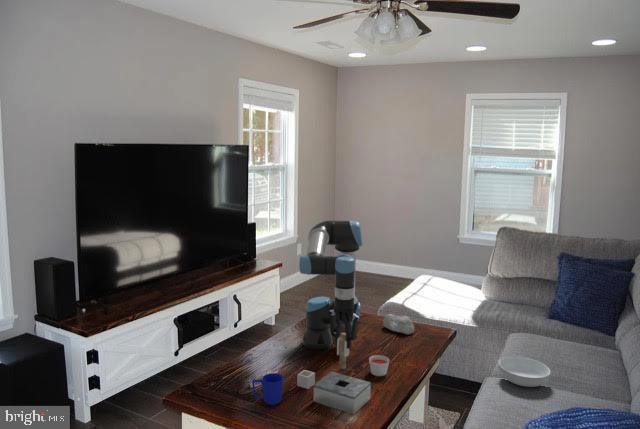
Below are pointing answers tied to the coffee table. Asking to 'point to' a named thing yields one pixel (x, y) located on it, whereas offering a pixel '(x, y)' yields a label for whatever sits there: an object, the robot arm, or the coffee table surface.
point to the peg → (342, 352)
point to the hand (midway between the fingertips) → (343, 354)
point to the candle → (379, 365)
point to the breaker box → (342, 392)
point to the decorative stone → (398, 324)
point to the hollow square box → (306, 379)
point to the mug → (270, 388)
